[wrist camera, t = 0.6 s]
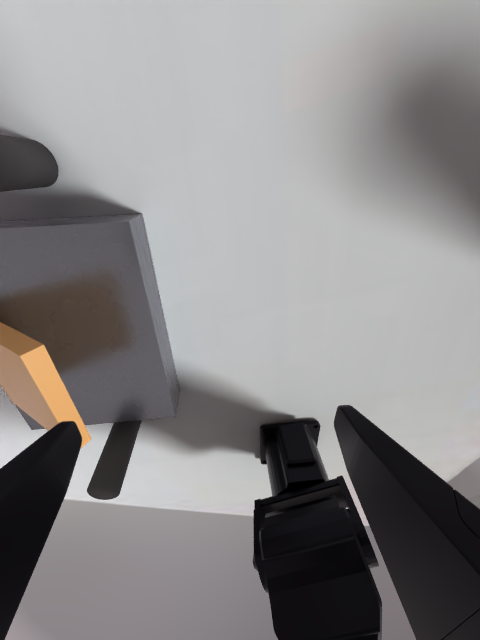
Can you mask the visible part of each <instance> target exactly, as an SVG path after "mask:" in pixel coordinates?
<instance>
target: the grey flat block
mask: <svg viewBox="0 0 480 640" xmlns="http://www.w3.org/2000/svg"><path fill="white" fill-rule="evenodd" d="M0 322H1V323H3V324H5V325H7V326H9V327H11V328H13V329H15V330H17V331H19V332H21V333H22V334H24V335H26V336H28V337H30V338H32V339H34V340H36V341H38V342H40V343H42V344H44V346H45V348H46V350H47V352H48V354H49V356H50V358H51V360H52V362H53V364H54V366H55V368H56V370H57V372H58V374H59V376H60V378H61V380H62V382H63V384H64V386H65V388H66V390H67V392H68V393H69V395H70V397H71V399H72V401H73V403H74V405H75V407H76V409H77V411H78V413H79V415H80V417H81V419H82V421H83V423H84V425H91V424H102V423H113V422H124V421H136V420H147V419H158V418H170V417H176V411H177V405H178V399H179V393H180V390H179V385H178V381H177V376H176V371H175V366H174V362H173V357H172V352H171V347H170V343H169V338H168V333H167V329H166V324H165V319H164V314H163V310H162V305H161V300H160V295H159V291H158V286H157V281H156V276H155V272H154V267H153V262H152V258H151V253H150V248H149V243H148V239H147V234H146V229H145V224H144V220H143V215H142V214H127V215H108V216H89V217H70V218H51V219H31V220H12V221H0ZM16 407H17V408H18V410H19V411H20V413H21V414H22V416H23V417H24V419H25V420H26V422H27V423H28V425H29V426H30V428H31V429H32V430H34V429H45V428H44V427H43V426H42V425H40V424H39V423H38V422H37V421H35V420H34V419H33V418H32V417H30V416H29V415H28V414H27V413H25V412H24V411H23V410H22V409H20V408H19V407H18V406H17V405H16Z"/></svg>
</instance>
